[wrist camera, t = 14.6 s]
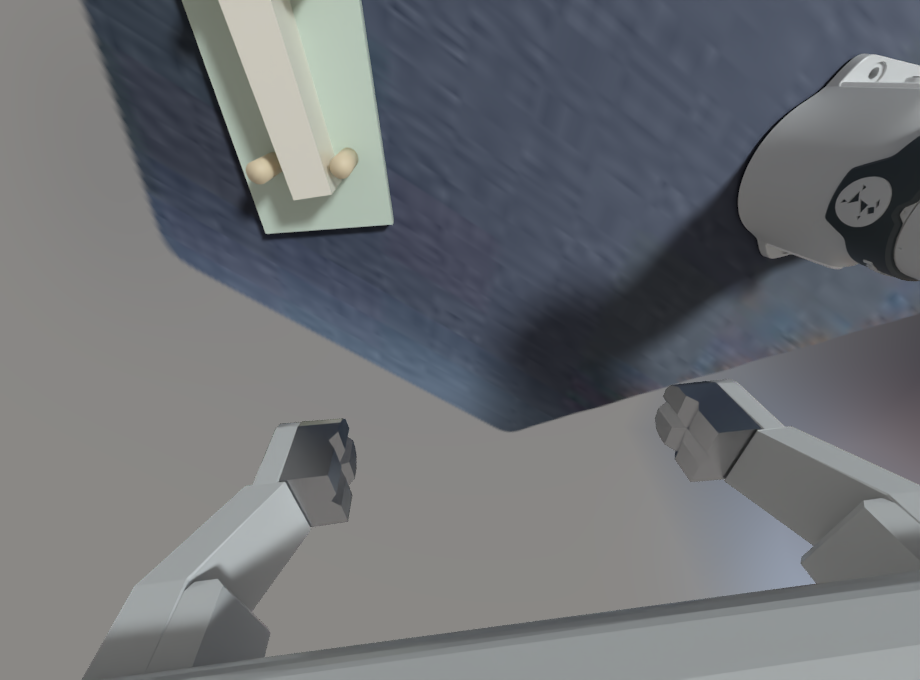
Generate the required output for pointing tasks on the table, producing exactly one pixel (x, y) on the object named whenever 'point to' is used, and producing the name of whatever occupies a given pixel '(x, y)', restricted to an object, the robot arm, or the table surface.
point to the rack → (343, 106)
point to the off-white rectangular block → (284, 92)
